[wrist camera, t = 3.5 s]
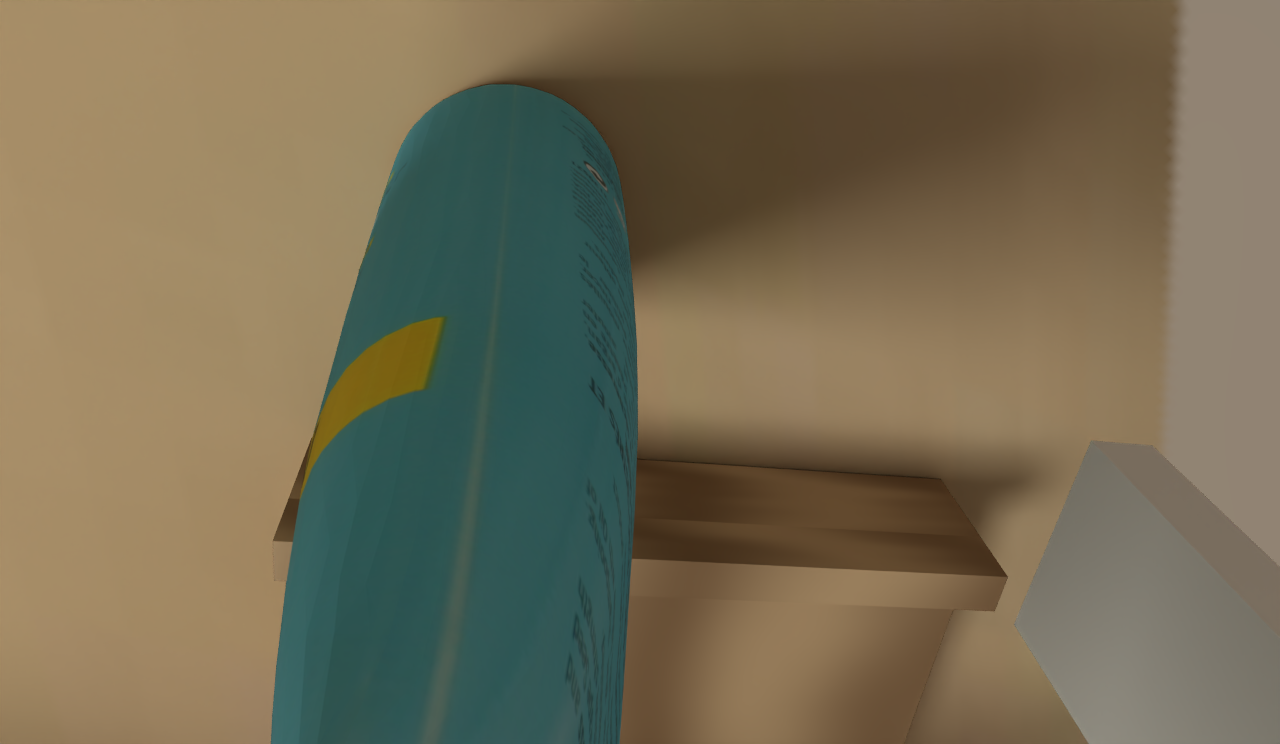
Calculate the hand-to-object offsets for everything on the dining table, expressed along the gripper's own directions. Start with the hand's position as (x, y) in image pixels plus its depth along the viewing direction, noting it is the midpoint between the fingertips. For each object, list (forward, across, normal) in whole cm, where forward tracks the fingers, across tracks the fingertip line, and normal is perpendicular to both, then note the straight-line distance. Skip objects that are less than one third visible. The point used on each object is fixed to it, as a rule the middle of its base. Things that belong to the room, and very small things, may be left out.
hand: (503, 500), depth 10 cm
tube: (+12, 0, 0) cm, 12 cm away
